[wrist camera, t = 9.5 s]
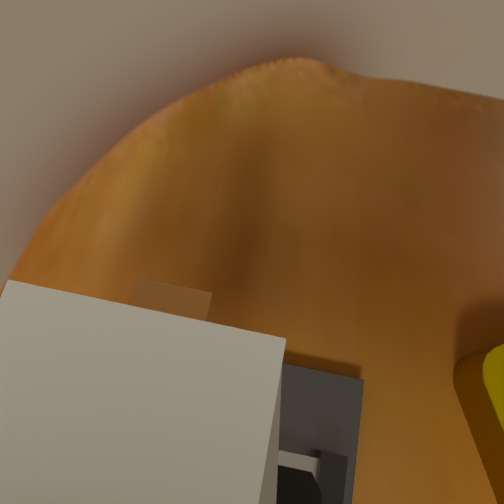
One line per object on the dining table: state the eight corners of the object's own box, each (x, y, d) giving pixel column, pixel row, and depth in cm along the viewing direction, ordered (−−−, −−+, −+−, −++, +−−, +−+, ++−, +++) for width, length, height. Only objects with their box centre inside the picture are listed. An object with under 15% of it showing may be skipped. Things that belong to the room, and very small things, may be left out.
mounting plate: (359, 381, 30) (372, 377, 28) (333, 630, 25) (346, 654, 23) (75, 321, 31) (62, 311, 28) (-7, 556, 25) (-34, 571, 23)
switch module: (140, 339, 18) (31, 223, 7) (250, 362, 18) (295, 279, 7) (61, 611, 14) (-337, 1091, 4) (196, 641, 14) (141, 1196, 4)
